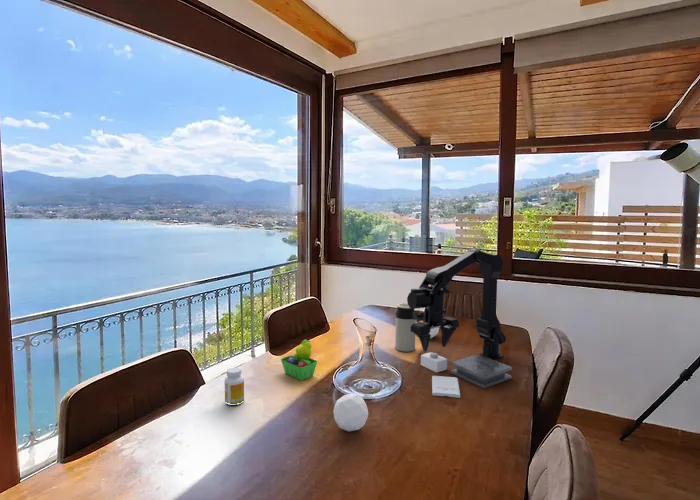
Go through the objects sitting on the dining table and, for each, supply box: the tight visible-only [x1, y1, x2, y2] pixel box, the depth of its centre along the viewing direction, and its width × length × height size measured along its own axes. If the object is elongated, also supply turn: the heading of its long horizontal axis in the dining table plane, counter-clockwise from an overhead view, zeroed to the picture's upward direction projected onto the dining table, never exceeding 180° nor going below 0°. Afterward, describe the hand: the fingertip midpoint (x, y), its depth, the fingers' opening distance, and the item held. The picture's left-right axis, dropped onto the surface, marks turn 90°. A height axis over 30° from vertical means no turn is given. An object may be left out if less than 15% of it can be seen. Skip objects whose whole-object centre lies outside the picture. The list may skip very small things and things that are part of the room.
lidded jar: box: [416, 321, 440, 339], centre depth 178 cm, size 11×11×9 cm
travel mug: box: [394, 302, 416, 353], centre depth 161 cm, size 8×8×18 cm
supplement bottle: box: [224, 367, 245, 404], centre depth 115 cm, size 5×5×10 cm
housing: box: [420, 352, 448, 373], centre depth 143 cm, size 5×8×5 cm, turn 33°
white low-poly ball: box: [333, 393, 369, 432], centre depth 104 cm, size 9×9×12 cm
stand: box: [450, 353, 513, 389], centre depth 136 cm, size 14×14×4 cm
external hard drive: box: [431, 375, 461, 399], centre depth 127 cm, size 2×8×12 cm
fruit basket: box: [280, 339, 318, 381], centre depth 136 cm, size 11×9×11 cm
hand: (434, 349), depth 143 cm, fingers open, 9 cm apart
